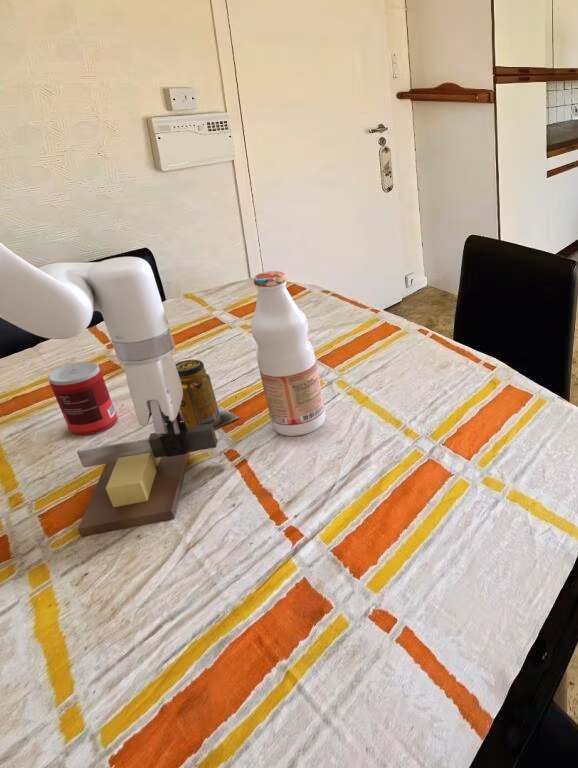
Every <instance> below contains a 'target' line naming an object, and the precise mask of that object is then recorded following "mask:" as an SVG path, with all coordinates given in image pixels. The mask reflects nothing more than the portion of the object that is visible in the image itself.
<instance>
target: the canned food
mask: <svg viewBox="0 0 578 768" xmlns="http://www.w3.org/2000/svg"><path fill="white" fill-rule="evenodd" d="M47 378H48V382H49V385H50V388H51V390H52V392H53V395H54V398H55V399H56V402H57V404H58V406H59V409H60V411H61V414H62V416H63V419H64V420H65V423H66V426H67V428H68V429H69V431H70V432H71V433H73V434H74V435H78V436H90V435H95V434H98V433H102V432H103V431H106V430H108V429H110V428H111V427H112V426H114V424H116V422H117V412H116V409H115V407H114V404H113V401H112V398H111V395H110V394H109V393H110V392H109V390H108V388H107V384H106V382H105V380H104V379H105V378H104V377H103V374H102V371H101V368H100V366H99V365H98V363H96V362H93V361H79V362H73V363H69V364H66V365H62V366H60V367H58V368H56V369H54V370H52V371H51V372H49V374H48V376H47Z"/></svg>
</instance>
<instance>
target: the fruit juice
mask: <svg viewBox="0 0 578 768" xmlns="http://www.w3.org/2000/svg"><path fill="white" fill-rule="evenodd" d="M253 285H254V287H255V288H256V290H257V295H256V303H255V308H254V314H253V316H252V319H251V321H250V332H251V335H252V338H253V340H254V342H255V343H256V345H257V350H256V360H257V361H256V362H257V367H258V372H259V375H260V379H261V383H262V387H263V391H264V396H265V401H266V405H267V409H268V414H269V418H270V421H271V426H272V428H273V429H274V431H275V432H276V433H277V434H279V435H283V436H289V437H296V436H303V435H307V434H309V433H312V432H314V431H316V430H318V429H319V428H321V427H322V425H324V423H325V421H326V409H325V403H324V398H323V392H322V387H321V386H322V385H321V381H320V376H319V370H318V365H317V358H316V355H315V350H314V346H313V345H312V343H311V341H310V340H309V337H308V336H309V322H308V318H307V316H306V314H305V313H304V312H303V311H302V310H301V308H299V307H298V305H297V303H296V302H295V300H294V299H293V297H292V295H291V294H290V292H289V290H288V289H287V286H286V285H287V277H286V274H285V272H283V271H278V270H275V271H274V270H273V271H272V270H271V271H264V272H261V273H257V274H256V275H254V277H253Z"/></svg>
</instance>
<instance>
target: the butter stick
mask: <svg viewBox="0 0 578 768" xmlns="http://www.w3.org/2000/svg"><path fill="white" fill-rule="evenodd" d="M156 471H157V470H156V467H155V465H154V462H153V459H152V456H151V453H145V454H139V455H133V456H127V457H121V458H118V460H117V462H116V465H115V467H114V470H113V472H112V475H111V477H110V479H109V482H108V484H107V487H106V490H107V493H108V495H109V498H110V500H111V503H112V505H113V507H118V506H124V505H129V504H134V503H140V502H145V501H147V500H148V497H149V494H150V491H151V487H152V484H153V481H154V478H155V474H156Z"/></svg>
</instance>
